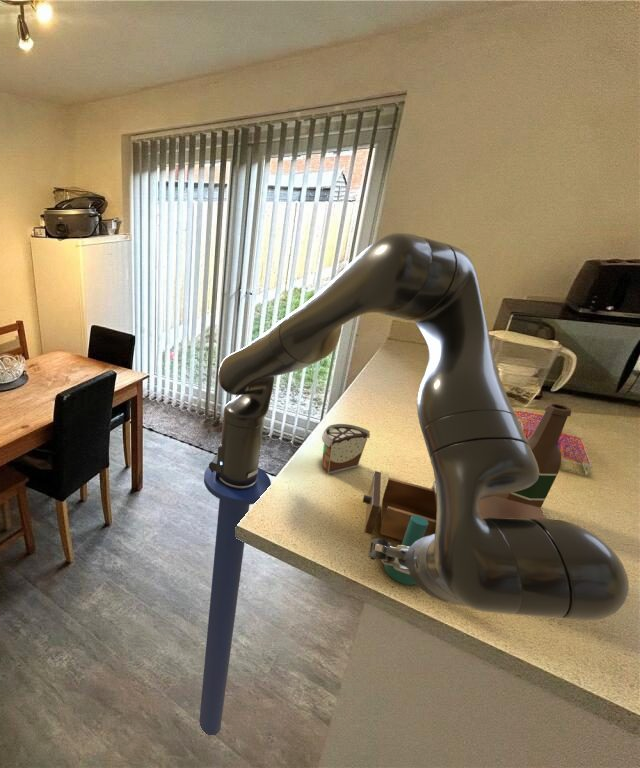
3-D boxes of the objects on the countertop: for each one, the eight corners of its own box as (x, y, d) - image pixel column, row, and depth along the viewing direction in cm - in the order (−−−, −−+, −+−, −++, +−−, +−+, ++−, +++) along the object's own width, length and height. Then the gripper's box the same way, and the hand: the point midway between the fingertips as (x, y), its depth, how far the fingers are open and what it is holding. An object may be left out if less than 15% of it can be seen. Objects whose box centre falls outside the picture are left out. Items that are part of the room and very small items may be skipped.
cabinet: (426, 559, 72) (440, 522, 68) (422, 514, 83) (434, 480, 79) (544, 599, 64) (566, 560, 61) (522, 543, 75) (540, 507, 71)
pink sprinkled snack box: (502, 414, 122) (508, 399, 120) (572, 429, 113) (580, 413, 111) (503, 456, 101) (510, 439, 99) (588, 479, 92) (599, 461, 90)
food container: (343, 452, 104) (351, 419, 101) (362, 465, 99) (371, 430, 95) (305, 461, 101) (311, 427, 97) (323, 474, 96) (330, 439, 92)
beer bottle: (547, 512, 82) (599, 411, 73) (524, 522, 80) (574, 419, 70) (504, 490, 89) (546, 395, 80) (481, 498, 87) (522, 401, 77)
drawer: (357, 530, 78) (365, 502, 75) (361, 494, 87) (368, 469, 85) (457, 563, 70) (470, 534, 67) (449, 520, 80) (460, 493, 77)
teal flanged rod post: (383, 576, 69) (401, 524, 64) (384, 556, 73) (400, 505, 68) (419, 590, 66) (440, 536, 61) (417, 568, 70) (437, 516, 65)
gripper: (542, 560, 42) (485, 563, 55) (386, 513, 49) (369, 526, 62) (537, 634, 40) (479, 619, 53) (375, 574, 47) (360, 574, 60)
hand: (420, 569), depth 58 cm, fingers open, 8 cm apart
